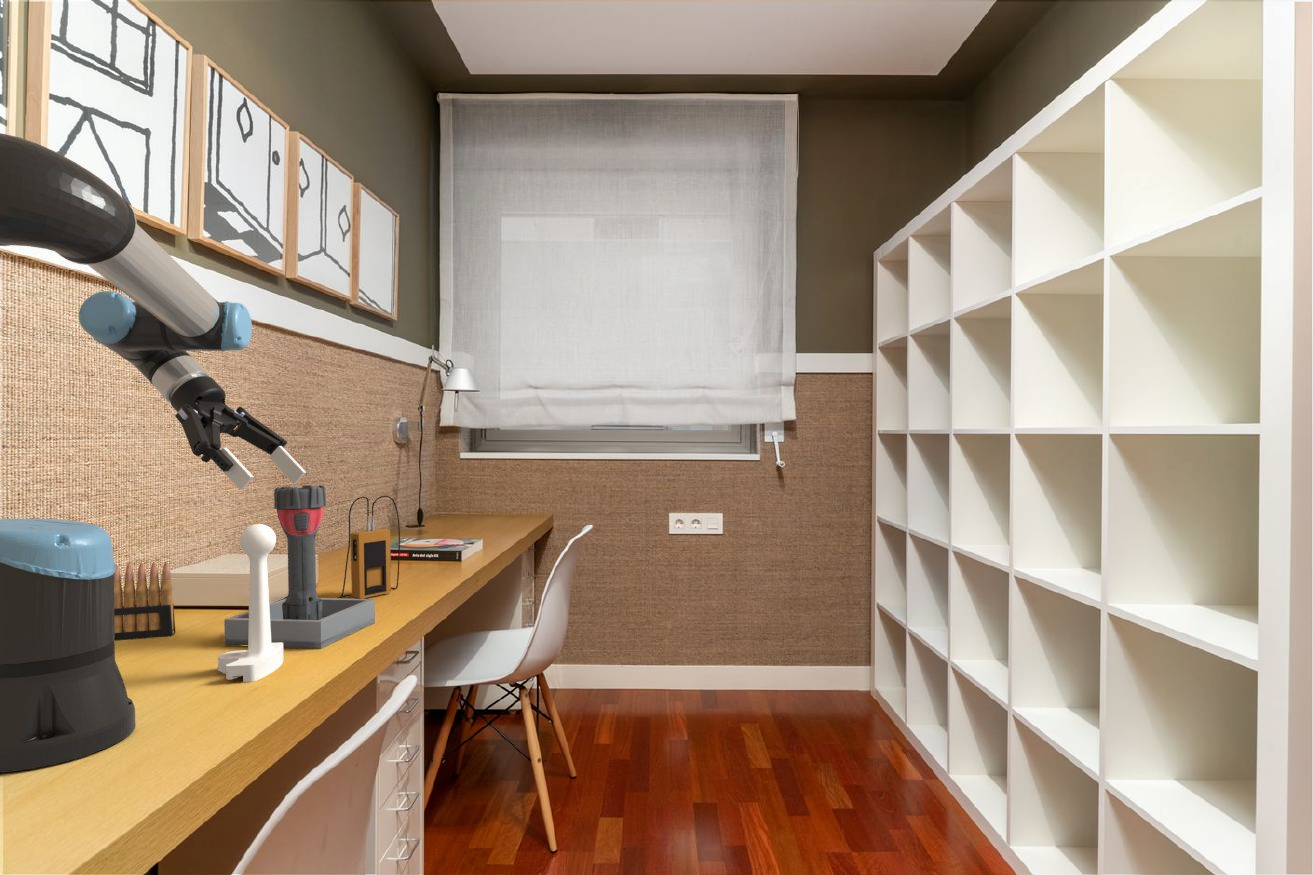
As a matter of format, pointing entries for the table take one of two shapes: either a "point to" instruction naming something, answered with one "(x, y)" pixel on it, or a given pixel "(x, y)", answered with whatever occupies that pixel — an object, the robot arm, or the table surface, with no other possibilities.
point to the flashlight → (301, 547)
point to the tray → (308, 624)
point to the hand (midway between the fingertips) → (275, 480)
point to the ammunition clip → (143, 604)
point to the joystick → (255, 614)
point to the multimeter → (370, 559)
